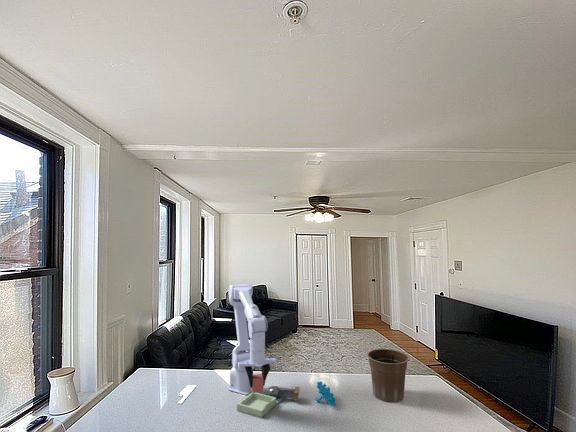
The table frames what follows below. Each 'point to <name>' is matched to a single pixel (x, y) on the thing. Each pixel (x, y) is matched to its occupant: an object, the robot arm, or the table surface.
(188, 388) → the butcher knife
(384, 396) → the plant pot
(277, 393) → the crank
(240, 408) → the tray
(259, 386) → the block
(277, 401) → the crank base
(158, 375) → the table surface
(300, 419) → the table surface
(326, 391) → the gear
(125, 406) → the table surface
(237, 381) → the robot arm
